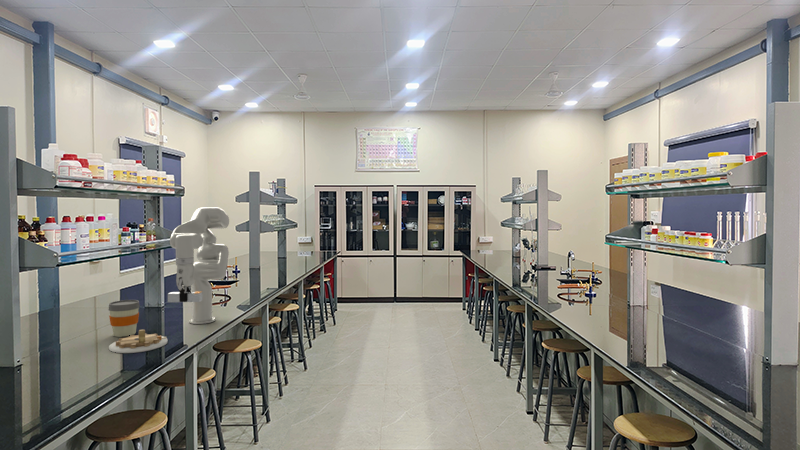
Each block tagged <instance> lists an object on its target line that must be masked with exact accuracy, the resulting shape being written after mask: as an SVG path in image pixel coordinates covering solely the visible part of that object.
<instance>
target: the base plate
mask: <svg viewBox="0 0 800 450" xmlns="http://www.w3.org/2000/svg"><path fill="white" fill-rule="evenodd" d="M161 336H162V340H160V342H159V343H153V344H150V346H146V347H145V346H140V347H136V348H131V347H125V348H119V346H116V341H114V342H112V343H111V344H109V345H108V350H109V352H111V351H112V353H115V352H116V354H133V353H134V354H135V353H142V352H147V351H148V352H149V351H152V350H156V349H159V348H162V347H164V346H165V345H167V344H168V338H167V336H163V335H161Z"/></svg>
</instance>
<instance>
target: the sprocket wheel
mask: <svg viewBox="0 0 800 450" xmlns="http://www.w3.org/2000/svg"><path fill="white" fill-rule="evenodd" d="M162 336H163V335H158V333H151V334H148V333H147V332H146V329H139V330H138V334H137V335H135V334H133V335H130V336H125V337H121V338H118V340H115V342H116V346H119V348H125V347H131V348H136V347H140V346H145V347H146V346H150V344H153V343H159V342H160V340H162Z"/></svg>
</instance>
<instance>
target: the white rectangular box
mask: <svg viewBox="0 0 800 450" xmlns="http://www.w3.org/2000/svg"><path fill="white" fill-rule="evenodd" d="M186 293H187V302H186V303H192V302H200V301H202V291H197V292H192V291H191V292H186ZM167 303H181V302H180V298H179V291H171V292H168V293H167Z"/></svg>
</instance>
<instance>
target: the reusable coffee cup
mask: <svg viewBox="0 0 800 450" xmlns="http://www.w3.org/2000/svg"><path fill="white" fill-rule="evenodd" d="M139 309H140V301H139V300H138V299H123V300H115V301H112V302H109V303H108V309H107V310H108V311H109V315H108V317H109V323H110V326H111V327H112V333H113V334H112V335H113V336H114V337H118V338H119V337H121V338H124V337H129V335H135V334H136V332H137V324H138V323H139V317H140V312H139Z"/></svg>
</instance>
